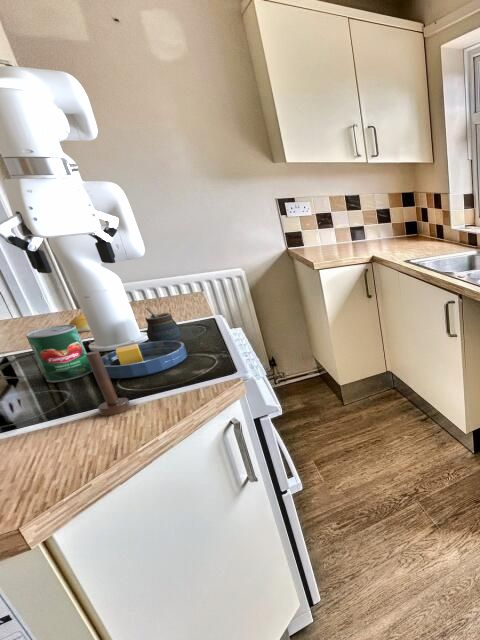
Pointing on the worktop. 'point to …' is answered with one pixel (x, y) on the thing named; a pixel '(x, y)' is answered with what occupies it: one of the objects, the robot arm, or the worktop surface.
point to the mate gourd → (162, 327)
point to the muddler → (106, 387)
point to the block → (129, 354)
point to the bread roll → (80, 323)
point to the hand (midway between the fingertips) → (78, 267)
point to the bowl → (147, 359)
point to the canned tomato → (59, 353)
